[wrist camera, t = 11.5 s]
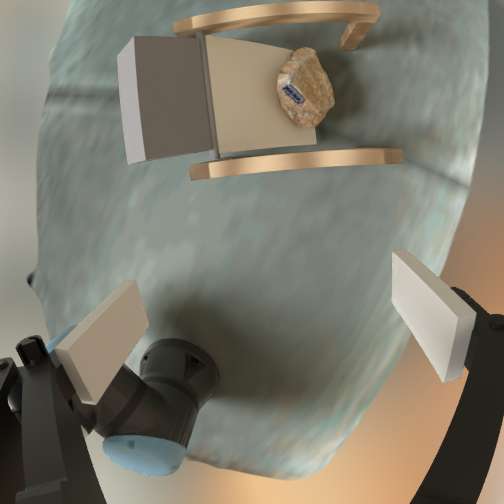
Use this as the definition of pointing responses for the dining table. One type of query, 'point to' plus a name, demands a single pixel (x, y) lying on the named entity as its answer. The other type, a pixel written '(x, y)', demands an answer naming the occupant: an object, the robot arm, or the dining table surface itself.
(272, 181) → the dining table surface
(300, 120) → the stone
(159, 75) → the trapdoor
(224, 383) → the dining table surface
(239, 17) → the frame
